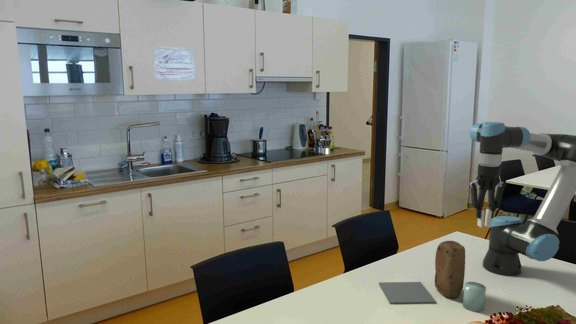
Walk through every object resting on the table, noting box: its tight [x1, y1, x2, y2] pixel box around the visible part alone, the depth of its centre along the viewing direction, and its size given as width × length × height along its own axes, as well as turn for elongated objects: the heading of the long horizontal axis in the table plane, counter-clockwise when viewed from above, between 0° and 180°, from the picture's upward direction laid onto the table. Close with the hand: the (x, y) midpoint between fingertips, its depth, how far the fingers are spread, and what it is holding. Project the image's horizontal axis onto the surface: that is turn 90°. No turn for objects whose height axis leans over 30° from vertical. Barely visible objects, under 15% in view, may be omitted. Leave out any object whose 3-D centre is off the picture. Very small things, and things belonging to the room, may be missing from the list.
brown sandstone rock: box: [434, 240, 466, 299], centre depth 163 cm, size 11×8×20 cm
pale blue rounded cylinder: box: [462, 281, 487, 313], centre depth 154 cm, size 7×7×8 cm
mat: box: [378, 281, 437, 305], centre depth 164 cm, size 17×16×1 cm
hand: (483, 226), depth 161 cm, fingers open, 2 cm apart
